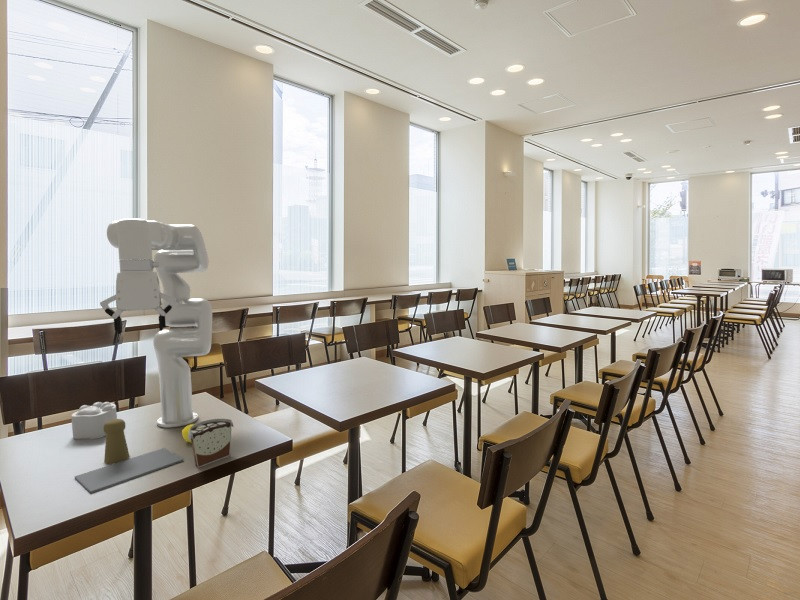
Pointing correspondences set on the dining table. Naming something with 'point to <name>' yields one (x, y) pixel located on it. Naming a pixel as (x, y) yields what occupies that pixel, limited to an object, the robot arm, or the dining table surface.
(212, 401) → the dining table surface
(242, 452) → the dining table surface
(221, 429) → the food container
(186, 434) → the lemon
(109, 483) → the mat
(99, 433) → the lumpy-topped squat cylinder
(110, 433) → the cork
